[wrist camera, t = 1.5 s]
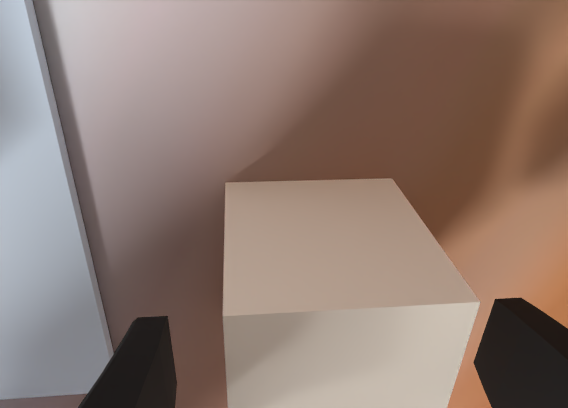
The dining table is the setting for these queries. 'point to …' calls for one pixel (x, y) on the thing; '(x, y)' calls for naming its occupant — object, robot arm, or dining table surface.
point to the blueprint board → (41, 233)
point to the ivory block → (338, 298)
